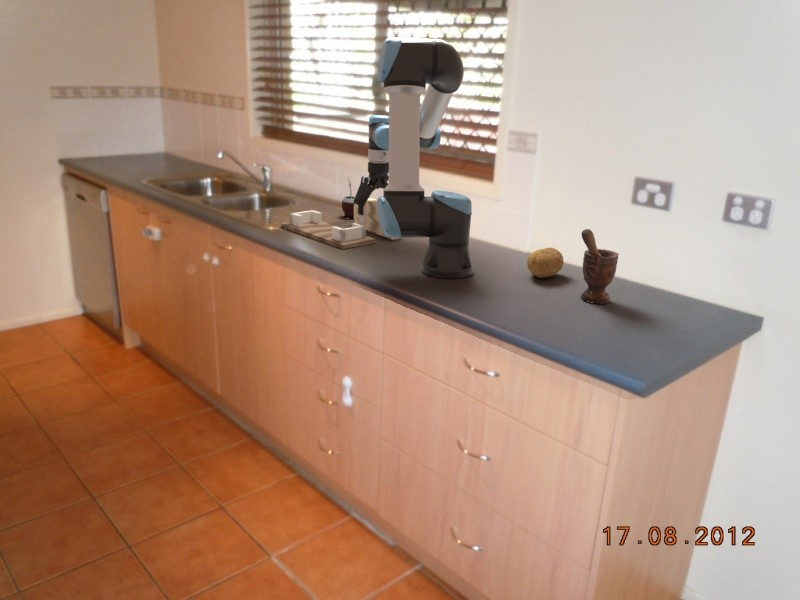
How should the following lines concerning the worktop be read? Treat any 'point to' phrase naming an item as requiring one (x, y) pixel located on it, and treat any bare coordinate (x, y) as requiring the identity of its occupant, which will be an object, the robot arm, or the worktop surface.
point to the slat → (371, 217)
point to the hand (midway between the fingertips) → (377, 221)
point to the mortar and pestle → (597, 269)
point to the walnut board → (326, 234)
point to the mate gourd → (348, 204)
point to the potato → (545, 262)
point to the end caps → (337, 233)
